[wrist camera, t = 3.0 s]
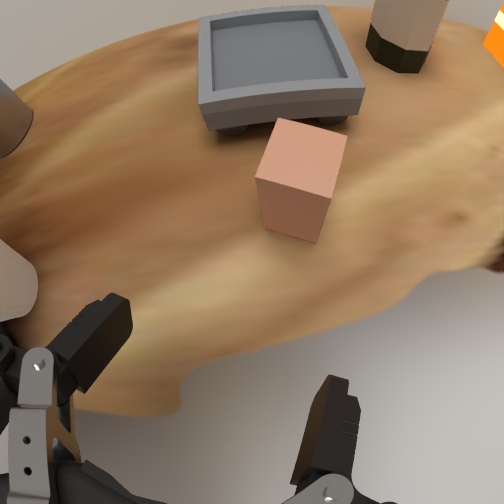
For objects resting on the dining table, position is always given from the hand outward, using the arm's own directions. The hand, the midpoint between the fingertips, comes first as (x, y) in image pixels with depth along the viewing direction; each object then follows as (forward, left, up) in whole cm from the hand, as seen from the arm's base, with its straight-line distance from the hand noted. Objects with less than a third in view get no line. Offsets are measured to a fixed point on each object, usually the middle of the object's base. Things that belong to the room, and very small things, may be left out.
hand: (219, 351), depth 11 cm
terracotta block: (+5, +10, -15) cm, 19 cm away
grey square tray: (+5, +25, -15) cm, 30 cm away
